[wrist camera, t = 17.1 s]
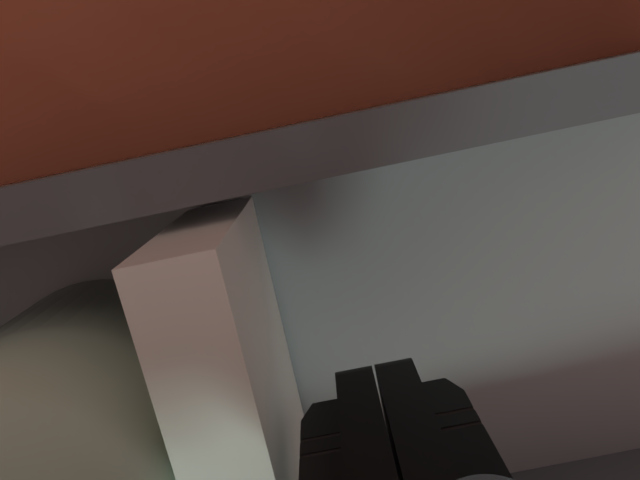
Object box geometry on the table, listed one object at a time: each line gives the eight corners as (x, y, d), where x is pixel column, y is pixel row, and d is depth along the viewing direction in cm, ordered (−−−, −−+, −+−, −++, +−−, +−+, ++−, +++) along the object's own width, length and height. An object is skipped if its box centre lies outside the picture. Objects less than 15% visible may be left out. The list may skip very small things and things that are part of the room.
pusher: (324, 503, 14) (333, 705, 9) (269, 515, 14) (249, 720, 9) (251, 196, 12) (215, 248, 7) (188, 209, 12) (110, 270, 8)
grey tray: (689, 449, 15) (819, 562, 11) (15, 579, 16) (-80, 730, 12) (667, 44, 13) (823, 12, 9) (-133, 214, 13) (-314, 254, 9)
